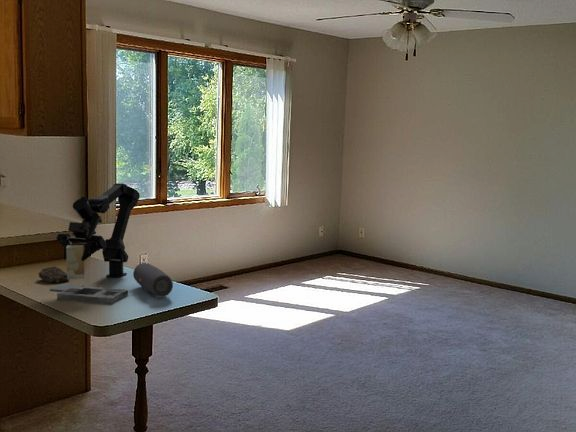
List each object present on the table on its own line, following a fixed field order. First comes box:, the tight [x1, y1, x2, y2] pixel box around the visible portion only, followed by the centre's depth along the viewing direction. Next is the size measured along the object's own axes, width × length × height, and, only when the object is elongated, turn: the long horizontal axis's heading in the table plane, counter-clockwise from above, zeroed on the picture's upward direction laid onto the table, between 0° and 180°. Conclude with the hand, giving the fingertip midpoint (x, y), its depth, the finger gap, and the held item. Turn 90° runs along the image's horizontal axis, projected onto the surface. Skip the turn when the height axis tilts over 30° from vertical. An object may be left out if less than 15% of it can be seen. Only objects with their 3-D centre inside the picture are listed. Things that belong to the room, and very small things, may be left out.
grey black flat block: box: [56, 285, 129, 305], centre depth 227 cm, size 12×22×2 cm, turn 77°
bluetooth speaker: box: [132, 262, 174, 298], centre depth 234 cm, size 23×9×10 cm, turn 30°
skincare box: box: [66, 244, 86, 280], centre depth 230 cm, size 6×4×12 cm
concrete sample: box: [38, 265, 71, 284], centre depth 250 cm, size 12×10×5 cm
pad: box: [49, 282, 85, 292], centre depth 238 cm, size 9×9×1 cm
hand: (73, 259), depth 229 cm, fingers closed on skincare box, 7 cm apart
